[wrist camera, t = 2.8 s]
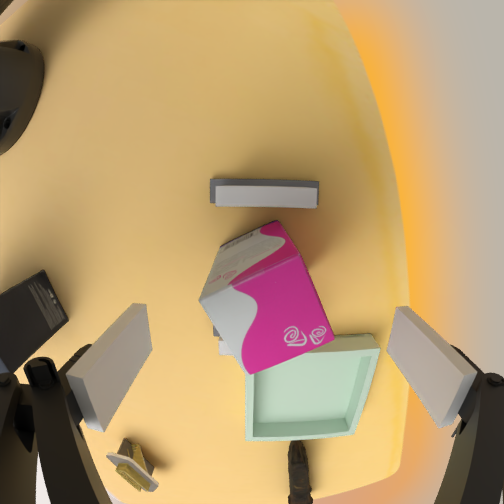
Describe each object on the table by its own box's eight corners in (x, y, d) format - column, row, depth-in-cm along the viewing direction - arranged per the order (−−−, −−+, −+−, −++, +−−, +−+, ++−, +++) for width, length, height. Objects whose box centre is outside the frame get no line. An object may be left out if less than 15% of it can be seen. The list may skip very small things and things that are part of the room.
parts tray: (246, 336, 28) (245, 353, 25) (370, 333, 28) (380, 348, 25) (246, 423, 31) (245, 440, 28) (348, 418, 31) (353, 434, 28)
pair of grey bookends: (211, 179, 24) (201, 178, 19) (317, 181, 24) (331, 181, 19) (214, 332, 28) (207, 359, 23) (306, 333, 27) (315, 360, 23)
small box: (18, 340, 29) (-32, 383, 17) (-4, 297, 28) (-60, 332, 16) (71, 322, 28) (10, 378, 16) (45, 268, 26) (-28, 307, 15)
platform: (141, 407, 31) (125, 443, 25) (205, 478, 35) (201, 509, 29) (82, 414, 32) (64, 442, 26) (147, 481, 36) (139, 507, 30)
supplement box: (247, 302, 27) (243, 380, 16) (218, 246, 26) (191, 295, 14) (305, 276, 26) (338, 342, 15) (278, 217, 25) (298, 247, 14)
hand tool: (310, 490, 36) (313, 511, 31) (287, 493, 36) (289, 514, 31) (316, 428, 31) (322, 454, 27) (285, 432, 31) (288, 459, 27)
